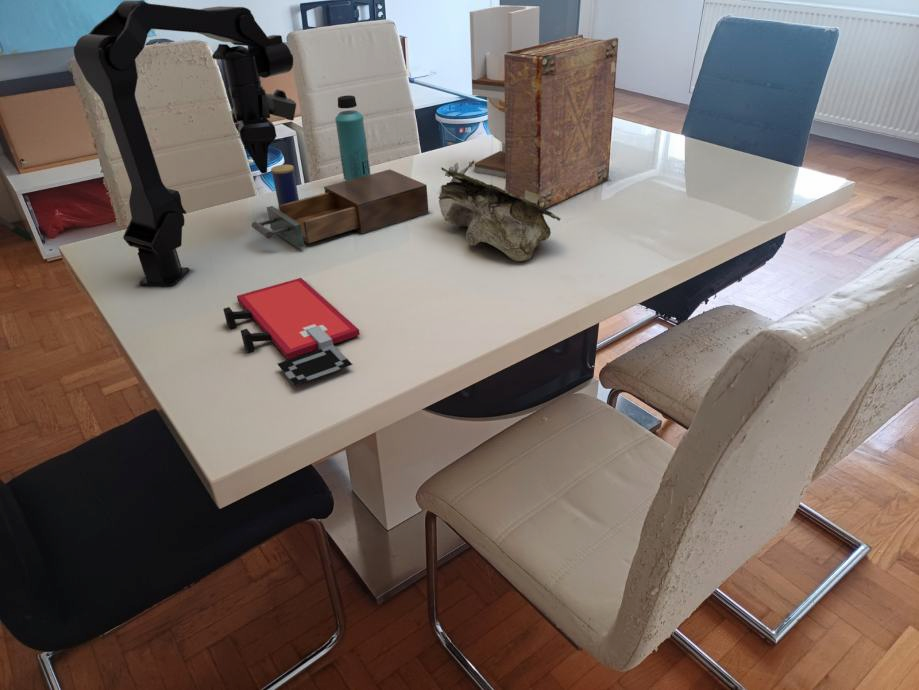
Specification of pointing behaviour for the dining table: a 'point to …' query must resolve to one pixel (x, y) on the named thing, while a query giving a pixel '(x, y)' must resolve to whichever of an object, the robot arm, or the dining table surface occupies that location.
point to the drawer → (310, 219)
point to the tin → (285, 184)
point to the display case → (498, 64)
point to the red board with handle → (296, 328)
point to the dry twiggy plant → (460, 171)
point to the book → (559, 117)
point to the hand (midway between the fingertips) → (261, 166)
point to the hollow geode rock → (494, 216)
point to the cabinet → (383, 199)
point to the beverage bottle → (352, 140)
